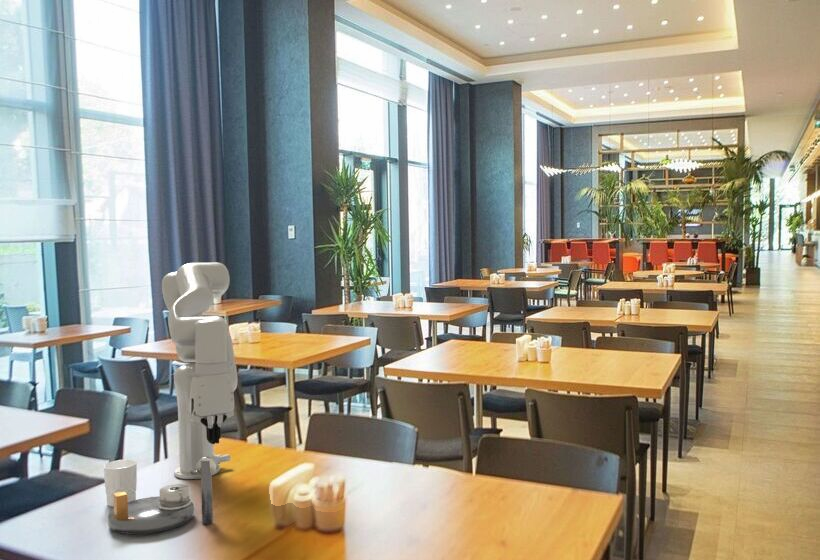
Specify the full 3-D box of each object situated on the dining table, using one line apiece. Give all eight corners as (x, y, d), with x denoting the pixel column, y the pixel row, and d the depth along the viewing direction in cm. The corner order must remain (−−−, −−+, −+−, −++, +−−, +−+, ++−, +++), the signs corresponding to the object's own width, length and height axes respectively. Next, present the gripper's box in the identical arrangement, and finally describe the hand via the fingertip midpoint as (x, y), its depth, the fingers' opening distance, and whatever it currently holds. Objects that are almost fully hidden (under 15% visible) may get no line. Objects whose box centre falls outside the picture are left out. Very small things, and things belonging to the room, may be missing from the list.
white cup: (126, 509, 178) (125, 469, 177) (98, 507, 179) (96, 468, 179) (144, 498, 185) (143, 460, 185) (116, 496, 187) (115, 458, 186)
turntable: (177, 497, 182) (177, 469, 182) (206, 520, 167) (205, 489, 167) (99, 515, 171) (98, 485, 171) (121, 541, 156) (120, 508, 155)
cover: (184, 497, 178) (184, 481, 177) (196, 505, 172) (195, 489, 171) (153, 504, 173) (153, 487, 173) (164, 513, 167) (163, 496, 167)
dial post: (218, 521, 169) (216, 455, 168) (214, 525, 167) (213, 458, 166) (194, 520, 170) (192, 455, 169) (190, 524, 167) (188, 458, 166)
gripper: (233, 364, 184) (235, 434, 185) (176, 370, 175) (178, 445, 176) (246, 367, 178) (248, 440, 179) (187, 374, 169) (189, 451, 170)
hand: (213, 442), depth 177 cm, fingers closed
